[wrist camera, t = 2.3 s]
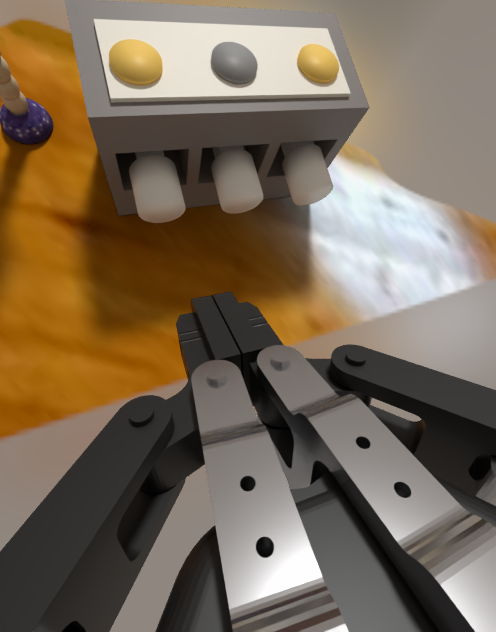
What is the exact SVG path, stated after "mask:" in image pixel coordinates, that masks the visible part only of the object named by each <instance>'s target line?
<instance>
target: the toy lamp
mask: <svg viewBox="0 0 496 632" xmlns="http://www.w3.org/2000/svg"><path fill="white" fill-rule="evenodd" d="M0 96H1V99H2V102H3V103H4V104H3V106H2V107H1V110H0V123H1V126H2V128H3V130H4V132H5V133H6V134H7V135H8V136H9V137H10V138H11V139H13V140H15V141H17V142H20V143H25V144H34V143H39V142H41V141H44V140H45V139H46V138H47V137H49V135H50V134H51V132H52V130H53V121H52V118H51V116H50V115H49V113H48V112H47V111H46V110H45V109H44V108H43V107H42V106H41V105H40V104H38V103H37V102H35V101H33V100H31V99H28V98H25V97H24V95H23V94H22V93H21V92H20V90H19V86H18V84H17V82H16V80H15V79H14V78H13V76H12V75H11V72H10V69H9V67H8V65H7V63H6V61H5V60H4V59H3V58H2V57H1V53H0Z"/></svg>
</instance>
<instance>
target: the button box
mask: <svg viewBox="0 0 496 632" xmlns="http://www.w3.org/2000/svg"><path fill="white" fill-rule="evenodd" d="M65 3H66V9H67V14H68V19H69V24H70V29H71V34H72V39H73V44H74V49H75V54H76V59H77V64H78V69H79V74H80V80H81V85H82V90H83V95H84V100H85V105H86V110H87V115H88V119H89V122H90V125H91V129H92V132H93V135H94V138H95V141H96V145H97V148H98V151H99V154H100V158H101V161H102V164H103V167H104V170H105V174H106V177H107V180H108V183H109V186H110V190H111V193H112V196H113V199H114V202H115V206H116V209H117V212H118V215H119V216H120V215H129V214H138V211H137V207H136V202H135V197H134V193H133V188H132V183H131V179H130V174H129V168H130V166H131V164H132V163H133V162H134V161H135V160H137V159H136V155H135V152H148V151H163V153H164V157H167V158H169V159H170V160H172V161H173V163H174V164H175V166H176V170H177V174H178V178H179V182H180V187H181V191H182V195H183V199H184V203H185V208H191V207H200V206H209V205H218V204H220V201H219V197H218V194H217V190H216V186H215V182H214V178H213V175H212V171H211V165H212V163H213V161H214V160H215V157H214V153H213V149H212V147H225V146H241V145H243V147H244V150H245V151H247V152H249V153H250V154H251V155H252V158H253V161H254V164H255V168H256V171H257V175H258V178H259V182H260V185H261V189H262V192H263V199H271V198H280V197H288V196H291V194H290V191H289V187H288V184H287V181H286V177H285V174H284V171H283V168H282V162H283V160H284V158H285V157H284V154H283V151H282V148H281V143H288V142H303V141H313V142H314V145H317V146H319V147H320V148H321V151H322V154H323V157H324V160H325V163H326V166H327V168H328V167H329V165H330V164H331V162H332V161H333V159H334V158H335V157H336V155H337V154H338V152H339V151H340V149H341V148H342V146H343V145H344V144H345V142H346V141H347V139H348V138H349V136H350V135H351V133H352V132H353V130H354V129H355V128H356V126H357V125H358V123H359V122H360V120H361V119H362V117H363V116H364V115H365V113H366V112H367V110H368V109H369V105H368V102H367V99H366V97H365V94H364V91H363V88H362V86H361V83H360V80H359V77H358V75H357V72H356V69H355V67H354V64H353V61H352V58H351V56H350V53H349V50H348V48H347V45H346V42H345V40H344V37H343V34H342V31H341V29H340V26H339V23H338V20H337V18H336V15H335V13H323V12H306V11H305V12H304V11H287V10H268V9H251V8H250V9H249V8H233V7H215V6H197V5H196V6H195V5H179V4H161V3H141V2H125V1H107V0H65Z"/></svg>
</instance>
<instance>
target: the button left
mask: <svg viewBox="0 0 496 632" xmlns="http://www.w3.org/2000/svg"><path fill="white" fill-rule="evenodd" d="M135 155H136V159H137V160H135V161H134V162H133V163H132V164H131V166H130V168H129V174H130V179H131V183H132V188H133V193H134V197H135V202H136V207H137V211H138V215H139V217H140V218H141V219H142V220H144V221H147V222H151V223H164V222H169V221H172V220H175V219H177V218H179V217H180V216H181V215H182V214H183V213H184V212H185V209H186V208H185V203H184V199H183V195H182V191H181V187H180V182H179V178H178V174H177V170H176V166H175V164H174V163H173V161H172V160H170V159H169V158H167V157H164V153H163V151H148V152H135Z"/></svg>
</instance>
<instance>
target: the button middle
mask: <svg viewBox="0 0 496 632" xmlns="http://www.w3.org/2000/svg"><path fill="white" fill-rule="evenodd" d="M212 149H213V153H214V157H215V160H214V161H213V163H212V165H211V171H212V175H213V178H214V182H215V186H216V190H217V194H218V197H219V201H220V205H221V208H222V210H223V211H224V212H226V213H230V214H238V213H243V212H247V211H249V210H251V209H253V208H255V207H256V206H258V205H259V204H260V203H261V202H262V200H263V192H262V189H261V185H260V182H259V178H258V175H257V171H256V168H255V164H254V161H253V158H252V155H251V154H250V153H249V152H247V151H245V150H244V147H243V145H241V146H225V147H212Z"/></svg>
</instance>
